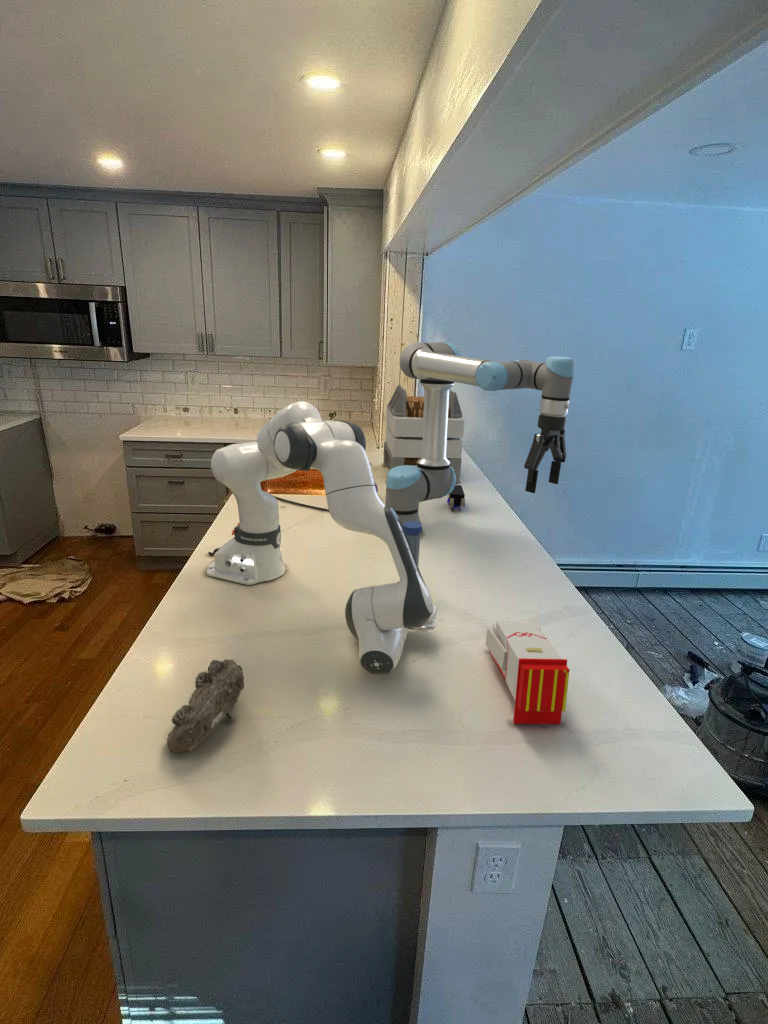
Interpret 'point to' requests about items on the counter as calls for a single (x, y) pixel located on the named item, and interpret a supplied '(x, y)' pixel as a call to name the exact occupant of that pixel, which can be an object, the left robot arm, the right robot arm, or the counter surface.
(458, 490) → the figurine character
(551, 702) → the toy
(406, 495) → the right robot arm
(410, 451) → the transformer
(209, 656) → the counter surface
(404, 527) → the lid
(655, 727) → the counter surface
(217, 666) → the fossil
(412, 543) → the grey long cylinder
